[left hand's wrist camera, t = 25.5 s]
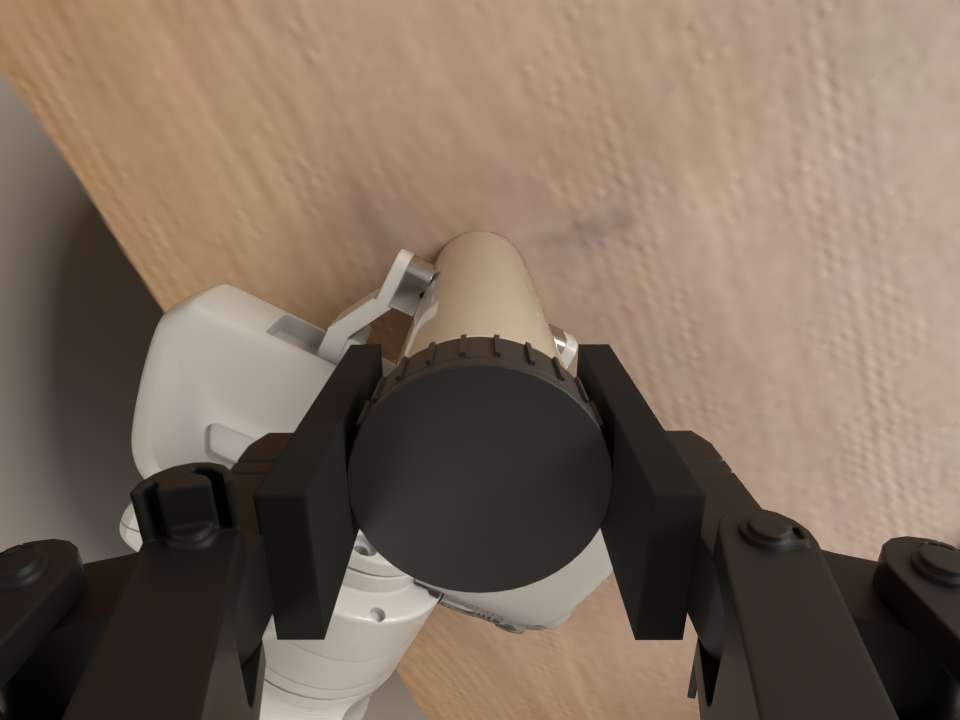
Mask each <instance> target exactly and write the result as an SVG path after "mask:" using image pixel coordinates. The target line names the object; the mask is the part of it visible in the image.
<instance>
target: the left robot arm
mask: <svg viewBox="0 0 960 720" xmlns="http://www.w3.org/2000/svg"><path fill="white" fill-rule="evenodd" d="M382 376H383V369H382V354H381V345H350V347H349V348H348V350H347V351H346V353H345V354H344V356H343V357H342V359H341V360H340V362H339V364H338V365H337V367H336V368H335V370H334V371H333V373H332V374H331V376H330V377H329V379H328V381H327V382H326V384H325V385H324V387H323V388H322V390H321V391H320V393H319V394H318V396H317V397H316V399H315V401H314V402H313V404H312V405H311V407H310V408H309V410H308V411H307V413H306V414H305V416H304V417H303V419H302V421H301V422H300V424H299V425H298V427H297V428H296V430H295V431H294V433H267V434H266V435H264V436H263V437H261V438H260V439H258V440H256V441H255V442H253V443H252V444H250V445H249V446H248V447H247V449H246V450H245V451H244V452H243V454H242V455H241V456H240V458H239V459H238V463H235V464H234V465H233V467H232V468H231V469H228V468H227V467H226V466H224V465H221V464H217V463H212V462H195V463H188V464H183V465H178V466H173V467H171V468H168V469H165V470H163V471H160V472H158V473H155V474H153V475H152V476H150V477H148V478H147V479H145V480H143V481H142V482H140V483H139V484H138V485H137V486H136V487H135V488H134V489H133V491H132V492H131V493H130V496H131V500H132V504H133V508H134V512H135V515H136V519H137V523H138V527H139V531H140V535H141V539H142V542H143V543H142V545H141V548H140V550H139V552H137V553H133V554H129V555H125V556H121V557H116V558H111V559H106V560H101V561H96V562H91V563H86V564H82V560H81V557H80V554H79V551H78V548H77V547H76V546H75V545H73V544H72V543H71V542H69V541H65V540H57V539H49V540H41V541H32V542H28V543H24V544H23V545H17V546H14V547H11V548H9V549H7V550H5V551H4V552H1V553H0V720H259V719H260V711H261V702H262V693H263V684H264V675H265V666H266V657H265V651H264V645H263V639H262V637H263V634H264V632H265V630H266V628H267V625H268V623H269V621H270V619H271V616H272V614H273V618H274V624H275V630H276V636H277V640H325V636H326V633H327V630H328V627H329V624H330V620H331V617H332V614H333V611H334V608H335V605H336V601H337V598H338V595H339V592H340V589H341V585H342V582H343V579H344V576H345V573H346V570H347V566H348V563H349V560H350V557H351V554H352V551H353V547H354V544H355V541H356V538H357V535H358V531H359V526H358V524H357V522H356V520H355V518H354V515H353V512H352V509H351V506H350V503H349V494H348V484H347V464H348V457H349V454H350V450H351V447H352V443H353V441H354V439H355V436H356V434H357V432H358V429H357V428H355V425H356V423H357V421H358V418H359V416H360V414H361V412H362V409H363V407H364V405H365V403H366V400H368V401H370V402H371V398H372V396H373V394H374V391H375V389H376V387H377V384H378V382H379V380H380V378H381V377H382ZM577 376H578V378H579V379H580V380H581V383H582V385H583V387H584V390H585V392H586V394H587V397H588V399H589V402H591V401H594V404H595V406H596V408H597V410H598V413H599V415H600V417H601V419H602V421H603V424H604V426H605V428H604V429H602V432H603V435H604V437H605V439H606V442H607V445H608V448H609V452H610V455H611V460H612V467H613V479H612V490H611V500H610V505H609V508H608V511H607V514H606V517H605V519H604V521H603V523H602V525H601V527H600V529H601V532H602V536H603V539H604V542H605V545H606V548H607V552H608V555H609V558H610V561H611V564H612V567H613V571H614V574H615V577H616V580H617V583H618V587H619V590H620V593H621V596H622V599H623V602H624V606H625V609H626V612H627V615H628V618H629V622H630V625H631V628H632V631H633V634H634V637H635V640H683V634H684V628H685V622H686V616H687V612H688V614H689V617H690V619H691V621H692V623H693V626H694V628H695V630H696V632H697V635H698V639H697V645H696V650H695V656H694V661H693V667H692V673H691V678H690V684H689V690H688V697H689V698H694V699H695V696H696V691H697V692H698V700H699V709H700V718H701V720H960V550H958V549H956V548H955V547H953V546H951V545H948V544H945V543H942V542H938V541H935V540H931V539H925V538H916V537H908V536H906V537H899V538H891V539H890V540H889V541H887V542H886V543H885V544H883V546H882V549H881V552H880V556H879V559H878V562H876V561H871V560H866V559H861V558H856V557H852V556H847V555H842V554H837V553H832V552H829V551H825V550H821V549H820V547H819V544H818V542H817V541H816V540H815V538H814V537H813V536H812V534H811V533H810V532H809V531H808V530H807V529H806V528H804V527H803V526H801V525H800V524H799V523H797V522H796V521H794V520H792V519H790V518H788V517H785V516H783V515H781V514H779V513H776V512H772V511H768V510H764V509H762V508H761V507H760V506H759V505H758V503H757V502H756V501H755V499H754V498H753V497H752V496H751V494H750V493H749V492H748V490H747V489H746V488H745V487H744V485H743V484H742V483H741V481H740V480H739V479H738V478H737V476H736V475H735V474H734V473H732V470H731V469H730V467H729V466H728V465H727V463H726V462H725V461H722V457H721V456H720V454H719V453H718V452H717V451H716V449H715V448H714V447H713V445H712V444H711V443H710V442H708V441H706V440H705V439H703V438H702V437H700V436H698V435H697V434H695V433H694V432H692V431H665V430H664V429H663V427H662V426H661V424H660V423H659V421H658V420H657V418H656V417H655V415H654V413H653V412H652V410H651V409H650V407H649V406H648V404H647V403H646V401H645V400H644V398H643V396H642V395H641V393H640V392H639V390H638V389H637V387H636V386H635V384H634V383H633V381H632V380H631V378H630V376H629V375H628V373H627V372H626V370H625V369H624V367H623V366H622V364H621V363H620V361H619V359H618V358H617V356H616V355H615V353H614V352H613V350H612V349H611V347H610V346H609V345H579V348H578V364H577Z"/></svg>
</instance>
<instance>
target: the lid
mask: <svg viewBox="0 0 960 720" xmlns="http://www.w3.org/2000/svg"><path fill="white" fill-rule="evenodd" d="M355 428H357V429H358V432H357V434H356V436H355V439H354V441H353V443H352V447H351V450H350V454H349V457H348V464H347V484H348V494H349V503H350V506H351V509H352V512H353V515H354V518H355V520H356V522H357V524H358V526H359V528H360V530H361V531H362V533H363V534H364V536H365V537H366V539H367V540H368V542H369V543H370V544H371V545H372V546H373V547H374V549H375V550H376V551H377V552H378V553H379V554H380V555H381V556H382V557H383V558H385V559H386V560H387V561H388V562H389V563H390V564H392V565H393V566H395V567H396V568H398V569H399V570H401V571H402V572H404V573H405V574H407V575H409V576H411V577H413V578H415V579H417V580H419V581H422V582H424V583H427V584H429V585H432V586H435V587H439V588H443V589H447V590H452V591H459V592H467V593H492V592H501V591H507V590H513V589H517V588H520V587H524V586H528V585H530V584H533V583H535V582H538V581H540V580H543V579H545V578H547V577H549V576H550V575H552V574H554V573H556V572H558V571H559V570H561V569H562V568H563V567H565V566H566V565H568V564H569V563H570V562H572V561H573V560H574V559H575V558H576V557H577V556H578V555H580V554H581V553H582V551H583V550H584V549H585V548H586V547H587V546H588V545H589V544H590V542H591V541H592V540H593V538H594V537H595V535H596V534H597V532H598V531H599V529H600V527H601V525H602V523H603V521H604V519H605V517H606V514H607V511H608V508H609V505H610V500H611V490H612V479H613V467H612V460H611V455H610V452H609V448H608V445H607V442H606V439H605V437H604V435H603V432H602V429H604V428H605V426H604V424H603V421H602V419H601V417H600V415H599V413H598V410H597V408H596V406H595V404H594V401H591V402H589V399H588V397H587V394H586V392H585V390H584V387H583V385H582V383H581V380H580V379H579V378H578V376H577V377H576V378H573V377H572V375H571V374H570V373H569V372H568V371H567V370H566V369H565V368H563V367H562V366H561V364H560V362H559V359H558V358H557V357H555V356H554V357H553V358H550V357H549V356H547V355H546V354H544V353H542V352H540V351H538V350H536V349H534V348H532V346H531V343H529V342H526V343H525V345H524V344H521V343H518V342H515V341H512V340H506V339H501V338H500V336H499V335H496V334H494V337H467V335H466V334H463V335H461V338H459V339H454V340H448V341H444V342H441V343H438V344H435V342H431V343H429V347H428V348H426V349H423V350H421V351H419V352H417V353H415V354H414V355H412V356H411V357H409V358H407V356H404V357H403V358H402V359H401V362H400V364H399V366H397V367H396V368H395V369H394V370H393V371H392V372H391V373H390V374H389V375H388V376H387V377H386V378H385V377H384V376H382V377H381V378H380V380H379V382H378V384H377V387H376V389H375V391H374V394H373V396H372V398H371V402H370V401H368V400H366V403H365V405H364V407H363V409H362V412H361V414H360V416H359V418H358V421H357V423H356V425H355Z"/></svg>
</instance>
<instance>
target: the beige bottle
mask: <svg viewBox="0 0 960 720" xmlns="http://www.w3.org/2000/svg"><path fill="white" fill-rule="evenodd" d="M434 265H435V266H437V268H436V271H435V273H434V275H433V277H432V280H431V282H430V284H429V286H428V287H427V289H426V290H425V291H424V292H423V295H422V297H421V300H420V303H419V305H418V308H417V310H416V313H415V315H414V318H413V321H412V323H411V326H410V328H409V331H408V334H407V336H406V339H405V341H404V344H403V347H402V349H401V352H400V354H399V357H398V359H397V362H396V365H395V367H394V369H395V368H396V367H397V366H399V364H400V362H401V359H402V358H403V357H404V356H407V358H409V357H411V356H412V355H414V354H415V353H417V352H419V351H421V350H423V349H426V348H428V347H429V343H431V342H435V344H438V343H441V342H444V341H448V340H454V339H459V338H461V335H463V334H466V335H467V337H494V334H496V335H499V336H500V338H501V339H506V340H512V341H515V342H518V343H521V344H524V345H525V343H526V342H529V343H531V346H532V348H534V349H536V350H538V351H540V352H542V353H544V354H546V355H547V356H549V357H550V358H553V357H554V356H555V357H557V358H558V359H559V362H560V364H561V366H562V367H563V368H565V366H564V363H563V361H562V358H561V355H560V353H559V350H558V348H557V345H556V343H555V340H554V337H553V335H552V332H551V330H550V327H549V324H548V322H547V319H546V317H545V314H544V311H543V309H542V306H541V304H540V301H539V299H538V296H537V293H536V291H535V288H534V286H533V283H532V280H531V278H530V275H529V273H528V270H527V268H526V265H525V262H524V260H523V258H522V256H521V254H520V253H519V251H518V250H517V249H516V247H515V246H514V245H513V244H512V243H510V242H509V241H508V240H506V239H505V238H503V237H501V236H499V235H497V234H494V233H490V232H483V231H477V232H470V233H466V234H463V235H460V236H458V237H456V238H455V239H453V240H452V241H450V242H449V243H448V244H447V245H446V246H445V247H444V248H443V249H442V250H441V252H440V253H439V255H438V257H437V259H436V261H435V264H434ZM565 369H566V368H565Z"/></svg>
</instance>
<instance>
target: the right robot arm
mask: <svg viewBox="0 0 960 720" xmlns="http://www.w3.org/2000/svg"><path fill="white" fill-rule="evenodd" d="M436 268H437V266H435V265H433V264H431V263H429V262H427V261H425V260H423V259H422V258H420V257H418V256H416V255H414V254H413V253H411V252H409V251H406V250H404V249H401V251H400V252H399V253H398V255H397V257H396V259H395V261H394V262H393V264H392V266H391V268H390V270H389V273H388V275H387V277H386V279H385V281H384V283H383V285H382V287H379V288H378V289H376V290H375V291H373V292H371V293H370V294H368V295H367V296H365V297H364V298H362V299H361V300H359V301H358V302H356V303H354V304H353V305H351V306H350V307H348V308H347V309H345V310H344V311H342V312H341V313H340V314H339V316H338V317H337V318H336V319H335V320H334V322H333V323H332V324H331V325H330V326H329V328H328V330H327V331H326V330H324V329H322V328H320V327H318V326H316V325H314V324H311V323H309V322H307V321H305V320H303V319H301V318H299V317H297V316H295V315H293V314H290V313H288V312H286V311H284V310H282V309H280V308H278V307H276V306H274V305H272V304H269V303H267V302H265V301H263V300H261V299H259V298H257V297H255V296H253V295H251V294H248V293H246V292H244V291H242V290H240V289H238V288H236V287H234V286H231V285H227V284H222V285H217V286H215V287H212V288H209V289H206V290H203V291H201V292H198V293H196V294H194V295H191V296H189V297H187V298H186V299H184V300H182V301H180V302H179V303H177V304H175V305H174V306H173V307H172V308H170V309H169V310H168V311H167V312H166V313H165V314H164V315H163V317H162V318H161V320H160V321H159V323H158V325H157V328H156V330H155V333H154V336H153V338H152V341H151V344H150V348H149V351H148V354H147V358H146V362H145V365H144V369H143V373H142V377H141V381H140V386H139V391H138V396H137V401H136V407H135V413H134V419H133V427H132V439H131V441H132V453H133V457H134V461H135V464H136V466H137V469H138V471H139V472H140V474H141V476H142V477H143V478H144V480H145V479H147V478H148V477H150V476H152V475H153V474H155V473H158V472H160V471H163V470H165V469H168V468H171V467H173V466H178V465H183V464H188V463H195V462H212V463H217V464H221V465H224V466H226V467H227V468H228V469H231V468H232V467H233V465H234V464H235V463H238V459H239V458H240V456H241V455H242V454H243V452H244V451H245V450H246V449H247V447H248V446H249V445H250V444H252V443H253V442H255V441H256V440H258V439H260V438H261V437H263V436H264V435H266V434H267V433H294V431H295V430H296V428H297V427H298V425H299V424H300V422H301V421H302V419H303V417H304V416H305V414H306V413H307V411H308V410H309V408H310V407H311V405H312V404H313V402H314V401H315V399H316V397H317V396H318V394H319V393H320V391H321V390H322V388H323V387H324V385H325V384H326V382H327V381H328V379H329V377H330V376H331V374H332V373H333V371H334V370H335V368H336V367H337V365H338V364H339V362H340V360H341V359H342V357H343V356H344V354H345V353H346V351H347V350H348V348H349V347H350V345H365V344H366V342H367V340H368V338H369V335H370V333H371V331H372V328H371V326H369V325H367V324H369V323H370V322H372V321H373V320H375V319H376V318H378V317H379V316H381V315H382V314H384V313H385V312H387V311H388V310H390V309H391V308H392V307H393V308H395V309H397V310H399V311H401V312H404V313H406V314H408V315H410V316H412V317H413V315H414V313H415V311H416V310H417V308H418V305H419V303H420V300H421V297H422V295H423V292H424V291H425V290H426V289H427V287H428V286H429V284H430V282H431V280H432V277H433V275H434V273H435V271H436ZM549 327H550V330H551V332H552V335H553V337H554V340H555V343H556V345H557V348H558V350H559V353H560V355H561V358H562V361H563V363H564V366H565V368H566V369H567V368H568V366H569V365H570V363H571V361H572V360H573V358H574V356H575V354H576V351H577V348H578V344H577V342H576V340H575V338H574V336H572V335H570V334H568V333H566V332H564V331H563V330H561V329H559V328H557V327H554V326H552V325H550V324H549ZM395 365H396V363H394V362H392V361H389V360H387V359H385V358H383V357H382V369H383V376H384V377H385V378H386V377H387V376H388V375H389V374H390V373H391V372H392V371H393V370H394V367H395ZM120 534H121V537H122V538H123V540H124V541H125V542H126V543H127V544H128V545H129V546H130V547H131V548H132V549H134V550H135V551H137V552H139V550H140V548H141V545H142V543H143V542H142V539H141V535H140V531H139V527H138V523H137V519H136V515H135V512H134V508H133V504H132V501H131V502H130V504H129V505H128V507H127V508H126V510H125V511H124V513H123V516H122V518H121V522H120ZM612 572H613V567H612V564H611V561H610V558H609V555H608V552H607V548H606V545H605V542H604V539H603V536H602V532H601V529H599V531H598V532H597V534H596V535H595V537H594V538H593V540H592V541H591V542H590V544H589V545H588V546H587V547H586V548H585V549H584V550H583V551H582V553H581V554H580V555H578V556H577V557H576V558H575V559H574V560H573V561H572V562H570V563H569V564H568V565H566V566H565V567H563V568H562V569H561V570H559V571H558V572H556V573H554V574H552V575H550V576H549V577H547V578H545V579H543V580H540V581H538V582H535V583H533V584H530V585H528V586H524V587H520V588H517V589H513V590H507V591H501V592H492V593H467V592H459V591H452V590H447V589H443V588H439V587H435V586H432V585H429V584H427V583H424V582H422V581H419V580H417V579H415V578H413V577H411V576H409V575H407V574H405V573H404V572H402V571H401V570H399V569H398V568H396V567H395V566H393V565H392V564H390V563H389V562H388V561H387V560H386V559H385V558H383V557H382V556H381V555H380V554H379V553H378V552H377V551H376V550H375V549H374V547H373V546H372V545H371V544H370V543H369V542H368V540H367V539H366V537H365V536H364V534H363V533H362V531H361V530H360V528H359V531H358V535H357V538H356V541H355V544H354V547H353V551H352V554H351V557H350V560H349V563H348V566H347V570H346V573H345V576H344V579H343V582H342V585H341V589H340V592H339V595H338V598H337V601H336V605H335V608H334V611H333V614H332V617H331V620H330V624H329V627H328V630H327V633H326V636H325V640H277V636H276V630H275V624H274V618H273V614H272V616H271V619H270V621H269V623H268V625H267V628H266V630H265V632H264V634H263V637H262V639H263V645H264V651H265V657H266V666H265V675H264V684H263V693H262V702H261V711H260V719H259V720H362V719H363V717H364V715H365V712H366V710H367V707H368V704H369V701H370V697H371V694H372V693H373V692H375V691H376V690H377V689H378V688H379V687H380V686H381V685H382V684H383V683H384V682H385V681H386V680H387V679H388V678H389V677H390V675H391V674H392V673H393V671H394V670H395V668H396V667H397V665H398V664H399V662H400V660H401V659H402V657H403V656H404V654H405V652H406V651H407V649H408V648H409V646H410V645H411V643H412V641H413V640H414V638H415V637H416V635H417V634H418V632H419V631H420V629H421V628H422V626H423V624H424V623H425V621H426V620H427V618H428V617H429V615H430V613H431V612H432V610H433V609H434V607H435V605H436V604H437V603H438V604H441V605H443V606H446V607H448V608H451V609H453V610H456V611H458V612H460V613H463V614H466V615H469V616H473V617H478V618H481V619H484V620H486V621H489V622H491V623H494V624H495V625H496V626H497V627H499V628H501V629H503V630H505V631H508V632H512V633H517V634H522V633H523V632H524V631H525V630H526V629H529V630H543V629H556V628H557V627H559V626H561V625H562V624H563V623H564V622H565V621H566V620H567V618H568V617H569V616H570V614H571V613H572V612H573V610H574V609H575V608H576V606H577V605H578V604H579V603H581V602H582V601H583V600H584V599H585V598H586V597H587V596H588V595H589V594H591V593H592V592H593V591H594V590H595V589H596V588H597V587H598V586H599V585H600V584H601V583H602V582H603V581H604V580H605V579H606V578H607V577H608V576H609V575H610V574H611V573H612Z"/></svg>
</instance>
